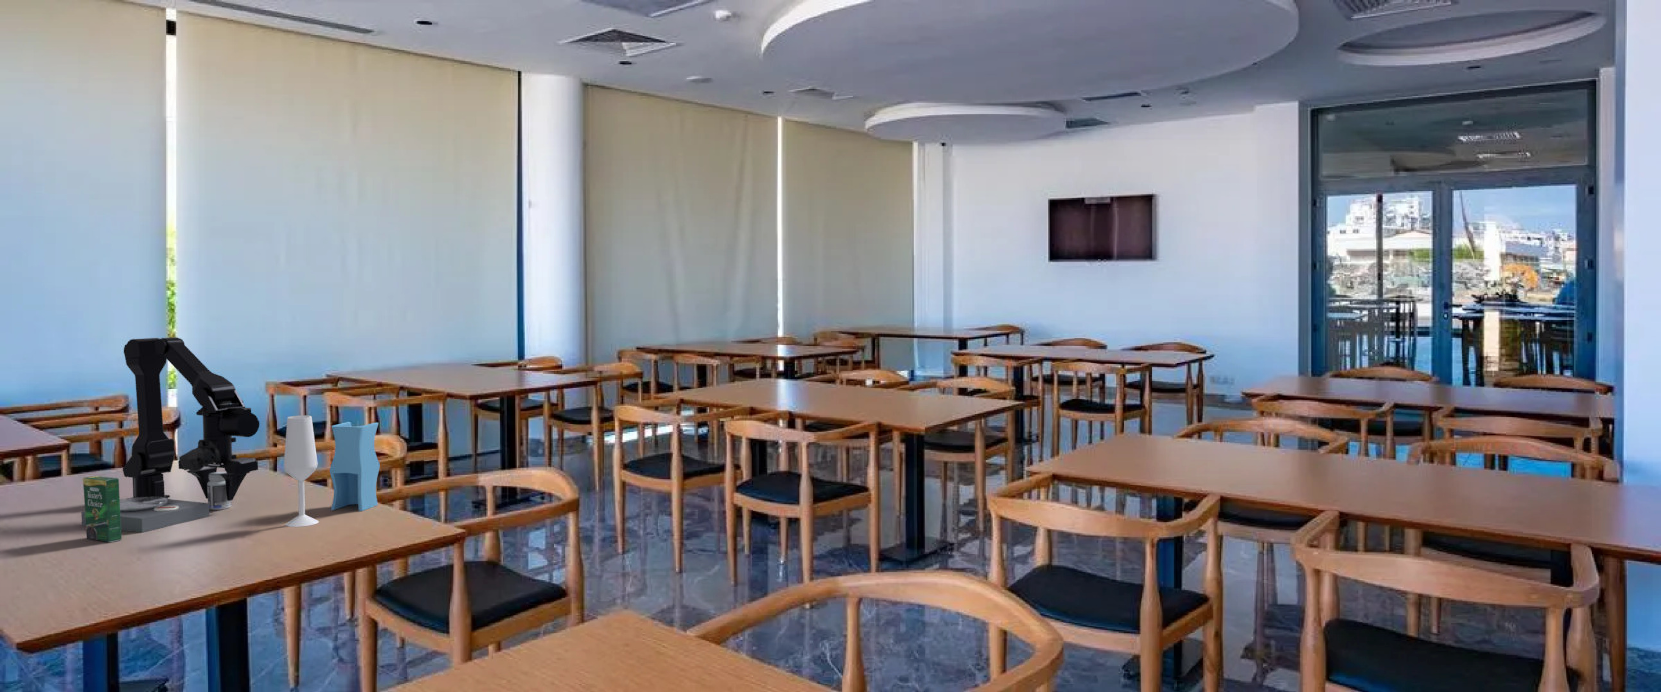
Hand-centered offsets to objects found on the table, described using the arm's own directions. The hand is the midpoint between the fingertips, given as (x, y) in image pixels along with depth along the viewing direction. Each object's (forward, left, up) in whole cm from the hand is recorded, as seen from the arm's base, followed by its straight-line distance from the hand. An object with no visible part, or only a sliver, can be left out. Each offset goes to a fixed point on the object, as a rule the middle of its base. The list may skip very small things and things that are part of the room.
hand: (219, 499), depth 238 cm
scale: (-4, -15, -2) cm, 16 cm away
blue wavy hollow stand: (+29, +12, -2) cm, 31 cm away
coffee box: (+3, -30, -2) cm, 30 cm away
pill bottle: (0, 0, -2) cm, 2 cm away
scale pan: (-6, -15, +1) cm, 16 cm away
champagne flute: (+30, -5, -2) cm, 30 cm away
